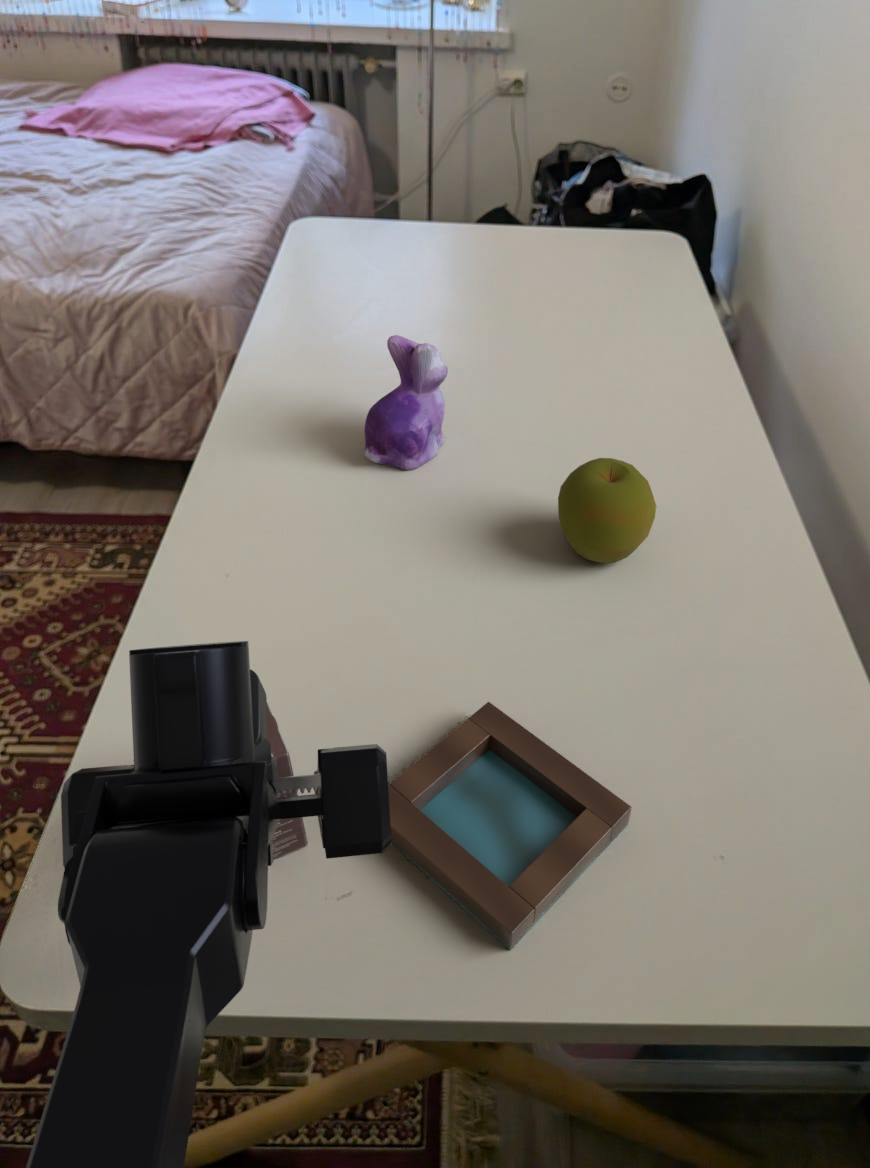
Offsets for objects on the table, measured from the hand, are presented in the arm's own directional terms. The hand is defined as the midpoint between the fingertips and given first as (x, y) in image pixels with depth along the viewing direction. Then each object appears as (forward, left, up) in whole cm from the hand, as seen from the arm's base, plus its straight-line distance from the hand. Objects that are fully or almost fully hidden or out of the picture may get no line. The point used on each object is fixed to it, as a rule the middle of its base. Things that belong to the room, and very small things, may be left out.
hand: (250, 785), depth 65 cm
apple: (+43, -19, -10) cm, 48 cm away
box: (+3, +1, -10) cm, 11 cm away
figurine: (+55, +6, -10) cm, 56 cm away
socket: (+8, -16, -10) cm, 20 cm away
